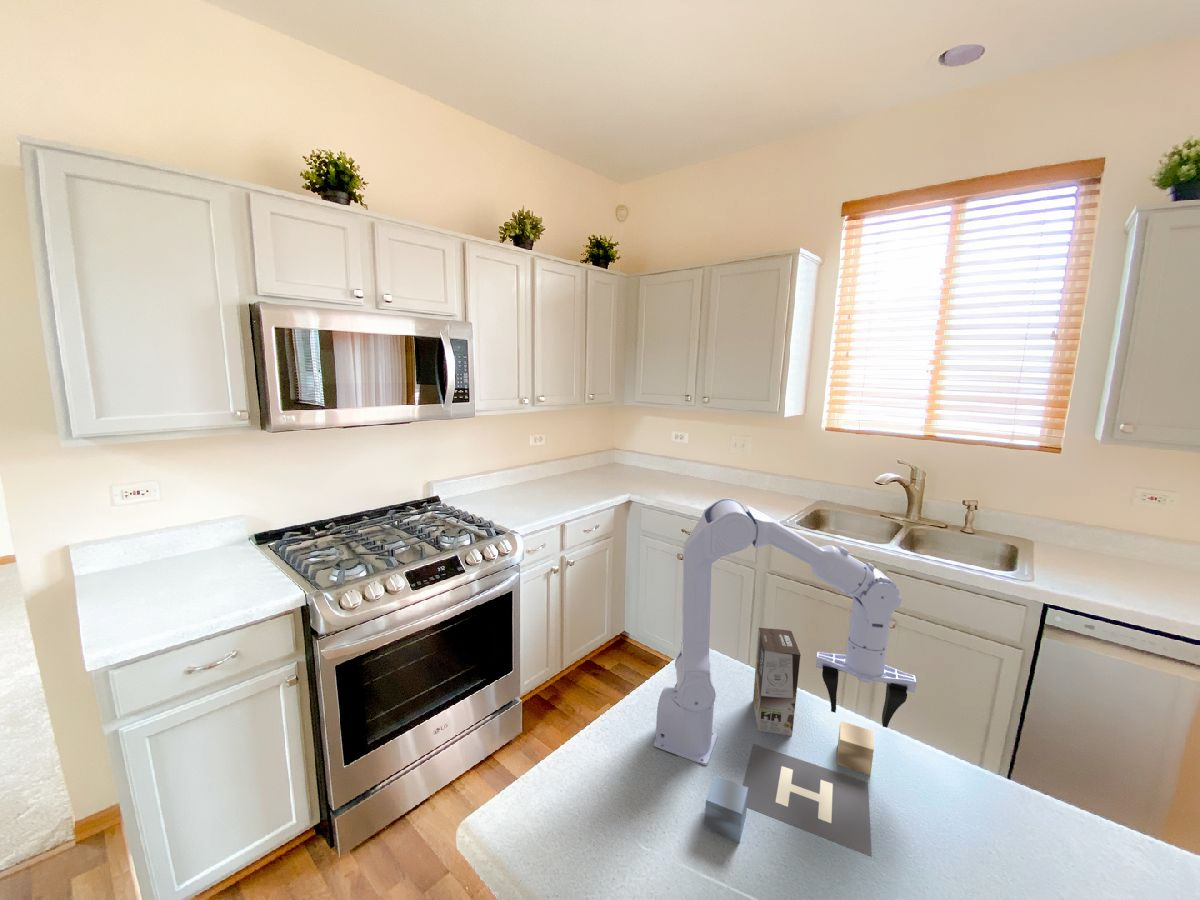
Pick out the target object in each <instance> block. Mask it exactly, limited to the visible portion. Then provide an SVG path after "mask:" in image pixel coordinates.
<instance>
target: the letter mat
mask: <svg viewBox="0 0 1200 900" xmlns="http://www.w3.org/2000/svg"><path fill="white" fill-rule="evenodd" d="M742 785H743V786H745V787H748V797H747V809H750V810H752V811H755V812H758V813H760V814H763V815H765V816H767V817H770V818H773V819H775V820H778V821H779V822H780V821H781V822H782V823H785V824H788V825H791V826H793V827H795V828H797V829H801V830H802V831H805V832H807V833H810V834H813V835H816V836H818V837H821V838H823V839H826V840H828V841H831V842H834V843H835V844H836V843H837V844H839V845H841V846H843V847H846V848H849V849H852V850H853V851H856V852H858V853H861V854H864V855H867V856H869V857H871V858H872V855H873V853H872V839H871V838H872V835H871V819H870V813H871V812H870V800H869V799H870V798H869V797H870V796H869V795H870V793H869V782H867V781H865V780H861V779H859V778H856V777H854V776H849V775H847V774H844V773H841V772H838V771H835V770H832V769H829V768H826V767H823V766H820V765H817V764H815V763H811V762H808V761H805V760H803V759H799V758H796V757H794V756H791V755H788V754H785V753H781V752H779V751H776V750H773V749H770V748H767V747H764V746H761V745H759V744H757V743H756V744H755V743H753V744H752V747H751V750H750V754H749V759H748V763H747V767H746V770H745V774H744V777H743V782H742Z"/></svg>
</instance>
